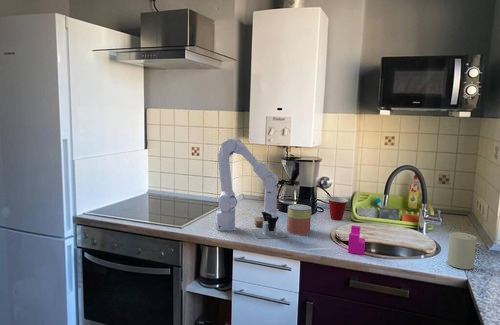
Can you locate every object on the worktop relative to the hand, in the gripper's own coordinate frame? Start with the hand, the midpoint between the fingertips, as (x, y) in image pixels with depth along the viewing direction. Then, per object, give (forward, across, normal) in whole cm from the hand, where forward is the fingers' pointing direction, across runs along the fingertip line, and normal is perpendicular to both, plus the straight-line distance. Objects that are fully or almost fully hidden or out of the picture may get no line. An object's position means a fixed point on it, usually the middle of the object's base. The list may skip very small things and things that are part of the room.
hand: (269, 228), depth 177 cm
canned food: (+2, +1, -15) cm, 15 cm away
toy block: (+3, -24, -32) cm, 40 cm away
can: (+2, -48, -63) cm, 79 cm away
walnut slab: (+2, +13, 0) cm, 14 cm away
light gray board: (+2, 0, 0) cm, 2 cm away
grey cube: (+2, 0, 0) cm, 2 cm away
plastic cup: (+2, +17, -43) cm, 46 cm away
